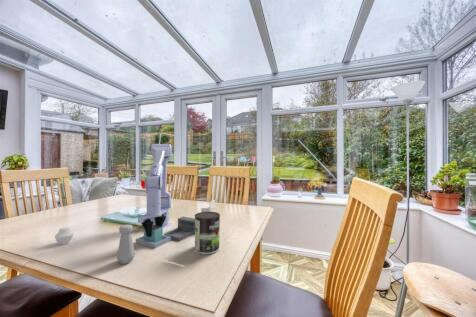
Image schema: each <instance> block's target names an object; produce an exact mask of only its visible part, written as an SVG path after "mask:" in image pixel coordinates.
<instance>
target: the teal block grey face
mask: <svg viewBox="0 0 476 317" xmlns="http://www.w3.org/2000/svg"><path fill="white" fill-rule="evenodd" d="M163 230H164V228H163V227H161V226H156V225H152V234H151V237H147V236H146V232H145V229H144V228H143V236H144V240H146V241H150V242H153V243H157V242H159V241H161V240H163V235H164V233H163Z"/></svg>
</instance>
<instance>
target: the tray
mask: <svg viewBox="0 0 476 317" xmlns="http://www.w3.org/2000/svg"><path fill="white" fill-rule="evenodd" d="M171 241H172V239H171V237H170V236H165V235H164V234H163V240H161V241H159V242H157V243H153V242H150V241H146V240H144V235H141V236H139V237H137V238H135V243H136V244H138V245H142V246H146V247H149V248H153V249H157V248H159V247H161V246H164V245H165V244H167V243H169V242H171Z"/></svg>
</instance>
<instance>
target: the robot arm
mask: <svg viewBox="0 0 476 317" xmlns="http://www.w3.org/2000/svg"><path fill="white" fill-rule="evenodd" d="M172 150H173V148H172V144H170V143H152V144H151V145H150V155H151V156H152V158H153V163H152V164H150V168H149V170H148V175H147V176H146V177H145V179H144V188H145V194H146V213H145V214H143V215H141V216H138V217H137V223H140V224H141V226H142V227H143V230H144V229H145V232H146V236H147V237H151V234H152V225H156V226H161V227H163V229H164V228H167V227H170V226H173V224H172V223H170V222H169V221H170V220H169V218H170V217H169V209H171V208H172V203H173V202H172V194H171V193H170V192H169V191H168V190H167V174H168V171H167V168H168V162H169V161H171V159H172Z"/></svg>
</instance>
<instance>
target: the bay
mask: <svg viewBox="0 0 476 317" xmlns="http://www.w3.org/2000/svg"><path fill="white" fill-rule="evenodd" d="M163 235H165V236H170V237H171V240H173V241H177V242H181V241H183V240H185V239H187V238H189V237H190V236H192V235H195V217H188V216H181V217H179V218H178V217H177V227H176V228H174V229H171V230H169V231H167V232H165V233H163Z"/></svg>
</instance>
